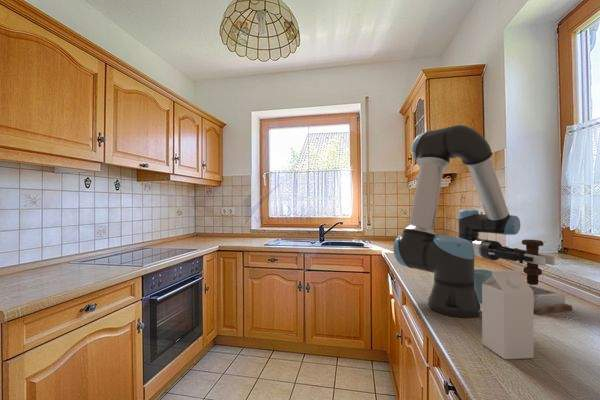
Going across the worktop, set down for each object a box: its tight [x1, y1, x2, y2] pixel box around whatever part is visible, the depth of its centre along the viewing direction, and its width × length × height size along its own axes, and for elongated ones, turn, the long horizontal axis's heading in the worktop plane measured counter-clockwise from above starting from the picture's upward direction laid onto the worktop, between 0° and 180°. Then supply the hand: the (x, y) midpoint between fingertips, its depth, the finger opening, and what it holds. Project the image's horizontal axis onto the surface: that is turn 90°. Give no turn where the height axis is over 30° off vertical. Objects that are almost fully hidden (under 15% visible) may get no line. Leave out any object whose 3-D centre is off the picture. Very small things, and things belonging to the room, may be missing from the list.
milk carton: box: [481, 269, 535, 360], centre depth 69 cm, size 7×7×19 cm
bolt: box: [521, 239, 544, 286], centre depth 101 cm, size 6×5×15 cm
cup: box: [474, 268, 493, 304], centre depth 104 cm, size 8×8×10 cm
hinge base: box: [527, 283, 573, 315], centre depth 100 cm, size 15×14×5 cm
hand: (549, 261), depth 95 cm, fingers closed on bolt, 3 cm apart
